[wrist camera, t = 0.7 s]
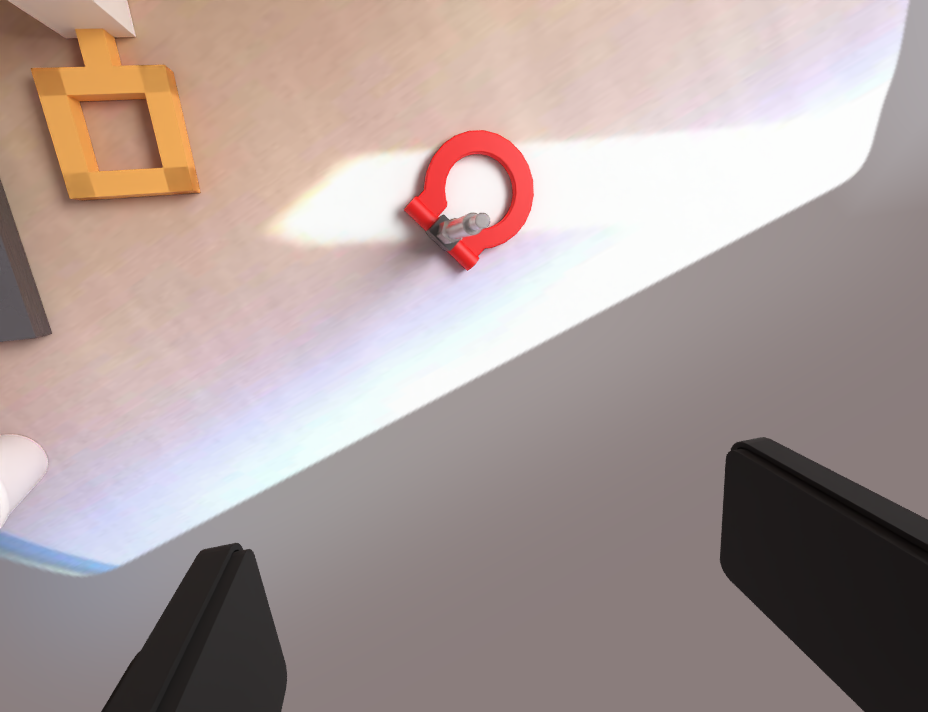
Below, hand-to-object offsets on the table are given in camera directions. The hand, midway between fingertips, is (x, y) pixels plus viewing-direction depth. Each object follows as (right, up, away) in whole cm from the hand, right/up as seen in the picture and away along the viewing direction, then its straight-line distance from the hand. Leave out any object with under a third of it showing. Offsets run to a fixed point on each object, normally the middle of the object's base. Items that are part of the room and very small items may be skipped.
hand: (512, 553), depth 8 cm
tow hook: (0, +16, +26) cm, 30 cm away
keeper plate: (-37, +11, +20) cm, 44 cm away
